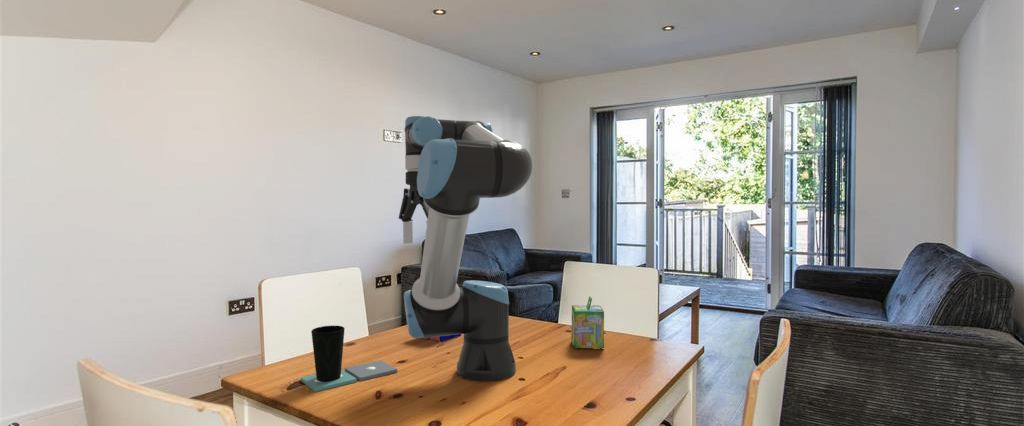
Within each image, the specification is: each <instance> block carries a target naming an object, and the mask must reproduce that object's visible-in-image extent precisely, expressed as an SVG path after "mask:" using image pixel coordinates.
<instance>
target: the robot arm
mask: <svg viewBox="0 0 1024 426" xmlns="http://www.w3.org/2000/svg"><path fill="white" fill-rule="evenodd" d="M404 134H405V135H404V138H405V139H404V141H405V142H404V143H405V144H404V145H405V146H404V147H405V156H404V158H405V160H404V161H405V162H404V163H405V167H404V169H405V170H406V172H405V184H406V185H408V186H409V188H403V198H402V201H401V205H400V210H399V214H398V220H401V222H402V224H403V225H402V234H403V236H402V239H403V240H402V243H403V244H405V245H406V244H413V241H414V240H413V238H414V236H413V233H414V232H413V219H412V218H413V215H414V213H415V211H416V208H417V206H418V205H419V206H421V208H422V210H423V213H424V214H425V217H426V219H427V221H426V229H425V230H426V231H425V236H424V237H425V239H424V246H423V254H422V259H421V268H420V276H419V278H417V279H416V280H415V281H414V283H413V285H412V287H411V289H409V290H406V291H405V292H404V293H403V301H404V303H403V304H404V309H405V310H404V311H405V319H406V325H407V330H408V335H409V336H410V337H411V338H413V339H425V338H428V337H438V336H447V335H457V334H461V335H463V343H462V346H461V347H462V348H461V350H460V353H459V357H458V361H457V364H456V373H457V375H458V376H459V377H460V378H463V379H465V380H469V381H476V382H496V381H499V380H500V381H501V380H506V379H508V378H511V377H512V376H514V375H515V374H516V370H517V369H516V367H517V366H516V365H517V363H516V360H515V357H514V353H513V350H512V348H511V344H510V340H509V338H510V337H509V335H510V333H509V332H510V331H509V329H510V328H509V327H510V326H509V324H510V323H509V322H510V321H509V318H510V317H509V316H510V314H509V311H510V310H509V307H510V301H509V291H508V288H507V287H506V286H505V285H503V284H502V283H497V282H492V281H485V280H474V279H473V280H464V281H463V283H462V287H461V286H460V287H459V284H458V283H457V281H458V277H459V271H460V270H459V269H460V265H461V261H462V260H461V259H462V254H463V250H464V245H465V244H464V243H465V239H466V234H467V229H468V224H469V223H468V222H469V217H470V215H471V214H473V213H475V211H476V210H477V209H478V207H479V205H480V200H481V199H485V198H486V199H490V198H491V199H492V198H493V199H494V198H495V199H496V198H504V197H508V196H511V195H513V194H516V193H517V192H519V190H521V189H522V188H523V187H524V186H525V185H526V184H527V183H528V182H529V179H530V178H531V175H532V172H533V161H532V157H531V154H530V152H529V151H528V149H527V148H526V147H524V145H522V144H520V143H518V142H517V141H515V140H512V139H503V138H502V137H500V136H498V135H497V134H495V133H493V127H492V125H491V123H489V122H487V121H480V120H476V121H475V120H456V119H455V120H453V119H440V118H439V119H438V118H435V117H433V116H424V115H423V116H422V115H411V116H408V117H406V118H405V121H404Z"/></svg>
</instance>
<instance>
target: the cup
mask: <svg viewBox="0 0 1024 426" xmlns="http://www.w3.org/2000/svg"><path fill="white" fill-rule="evenodd" d="M310 332H311V340H312V341H311V342H312V348H313V358H314V368H315V374H316V378H317V381H321V382H328V381H334V380H337V379H339V378H340V377H341V369H342V365H343V353H344V352H343V351H344V340H345V327H344V326H342V325H324V326H318V327H315V328H312V329H311V331H310Z"/></svg>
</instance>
